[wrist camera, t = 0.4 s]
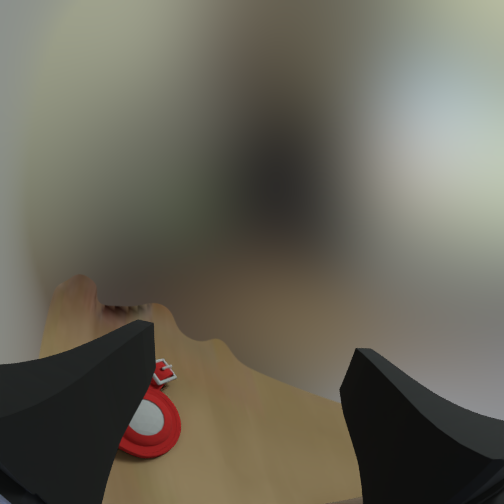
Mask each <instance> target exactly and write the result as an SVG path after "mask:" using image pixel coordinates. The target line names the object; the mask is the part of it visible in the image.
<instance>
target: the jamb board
mask: <svg viewBox="0 0 504 504" xmlns="http://www.w3.org/2000/svg"><path fill="white" fill-rule="evenodd" d="M327 504H363V497H358V498H354V499H349V500H344V501H339V502H333V503H327Z"/></svg>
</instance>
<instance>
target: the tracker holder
mask: <svg viewBox="0 0 504 504" xmlns="http://www.w3.org/2000/svg"><path fill="white" fill-rule="evenodd" d="M171 367H172V365H168V364H167V363H166V361H165V360H164V359H159V360H156V369H155V372H154V375H153V378H152V380H151V383H150V386H149V388H148V390H147V392H146V394H145V396H144V398H143V400H142V402H141V403H140V405H139V407H138V409H137V411H136V413H135V414H134V416H133V418H132V420H131V422H130V424H129V426H128V427H127V429H126V431H125V433H124V435H123V437H122V439H121V442H120V444H119V447H118V448H119V449H121V450H123V451H125V452H126V453H129V454H131V455H133V456H136V457H140V458H154V457H158V456H161V455H163V454H165V453H166V452H168V451H169V450H170V449H171V448H172V447H173V446H174V445H175V444H176V442H177V440H178V438H179V436H180V432H181V421H180V417H179V414H178V411H177V409H176V407H175V406H174V404H173V403H172V401H171V400H170V399H169V398H168V397H167V396H166V395H165V394H164V393H162V392H161V391H160V389H161V388H162V387H163V385H164V384H165V383H167V382H169V381H172V380H174V379H176V378H177V377H176V375H175V374H174V373H173V371H172V370H171Z"/></svg>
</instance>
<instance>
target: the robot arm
mask: <svg viewBox="0 0 504 504" xmlns="http://www.w3.org/2000/svg"><path fill="white" fill-rule="evenodd" d="M155 369H156V360H155V343H154V323H151V322H147V321H142V320H136V321H133V322H131V323H129V324H127V325H125V326H122V327H120V328H118V329H116V330H114V331H112V332H110V333H108V334H106V335H104V336H102V337H100V338H97V339H95V340H93V341H91V342H88V343H86V344H83V345H81V346H78V347H76V348H74V349H71V350H68V351H66V352H63V353H59V354H56V355H53V356H49V357H46V358H42V359H37V360H31V361H26V362H20V363H14V364H2V365H0V504H102V500H103V496H104V492H105V488H106V484H107V480H108V477H109V474H110V470H111V467H112V464H113V461H114V458H115V455H116V452H117V450H118V447H119V444H120V442H121V439H122V437H123V435H124V433H125V431H126V429H127V427H128V426H129V424H130V422H131V420H132V418H133V416H134V414H135V413H136V411H137V409H138V407H139V405H140V403H141V402H142V400H143V398H144V396H145V394H146V392H147V390H148V388H149V386H150V383H151V380H152V378H153V375H154V372H155ZM340 397H341V404H342V410H343V414H344V417H345V421H346V424H347V427H348V431H349V434H350V437H351V440H352V444H353V447H354V450H355V453H356V457H357V461H358V465H359V471H360V478H361V485H362V497H363V504H504V421H503V420H499V419H495V418H491V417H487V416H484V415H480V414H478V413H475V412H472V411H470V410H467V409H464V408H462V407H460V406H458V405H456V404H454V403H452V402H450V401H448V400H446V399H444V398H442V397H440V396H438V395H437V394H435V393H433V392H432V391H430V390H429V389H427V388H426V387H424V386H423V385H421V384H420V383H418V382H417V381H415V380H414V379H412V378H411V377H410V376H408V375H407V374H405V373H404V372H403V371H401V370H400V369H399V368H397V367H396V366H395V365H393V364H392V363H391V362H389V361H388V360H387V359H385V358H384V357H383V356H381V355H380V354H378V353H377V352H375V351H374V350H372V349H367V348H356V349H355V352H354V355H353V357H352V360H351V362H350V365H349V368H348V370H347V373H346V375H345V378H344V380H343V382H342V385H341V387H340Z"/></svg>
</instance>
